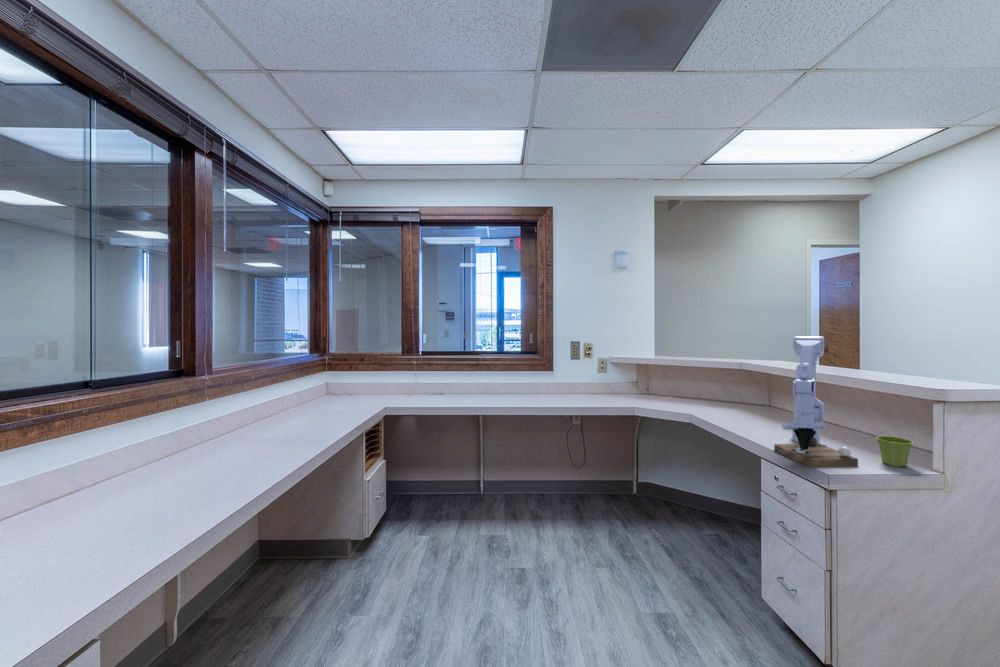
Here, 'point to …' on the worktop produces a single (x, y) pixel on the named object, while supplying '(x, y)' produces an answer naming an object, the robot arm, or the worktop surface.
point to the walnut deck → (816, 455)
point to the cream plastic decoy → (844, 451)
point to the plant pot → (894, 450)
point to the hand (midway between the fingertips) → (804, 448)
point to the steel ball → (800, 450)
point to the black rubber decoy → (813, 441)
